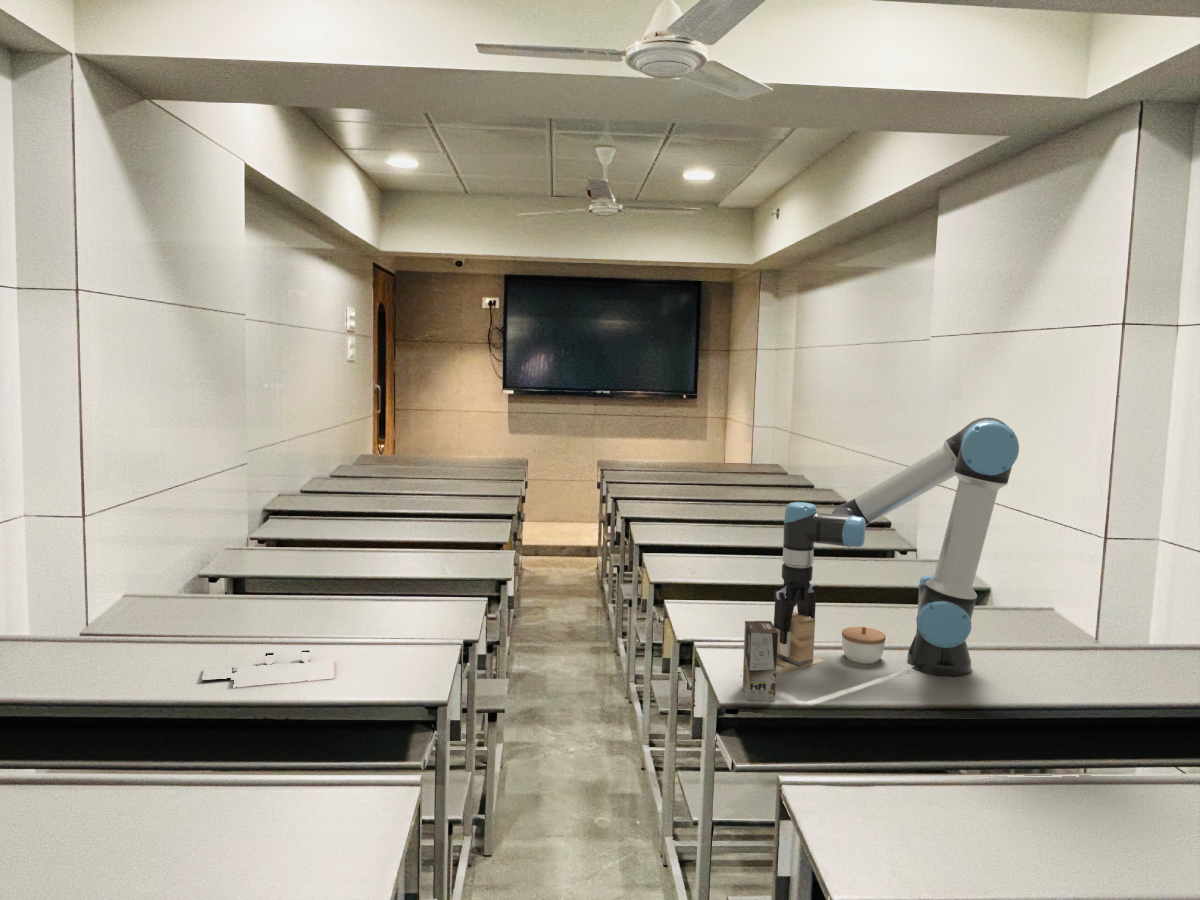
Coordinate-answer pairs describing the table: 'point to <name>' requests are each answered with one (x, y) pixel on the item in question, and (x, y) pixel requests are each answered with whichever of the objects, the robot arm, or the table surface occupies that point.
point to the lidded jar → (863, 644)
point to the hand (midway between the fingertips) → (792, 653)
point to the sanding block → (800, 639)
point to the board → (792, 665)
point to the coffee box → (760, 660)
